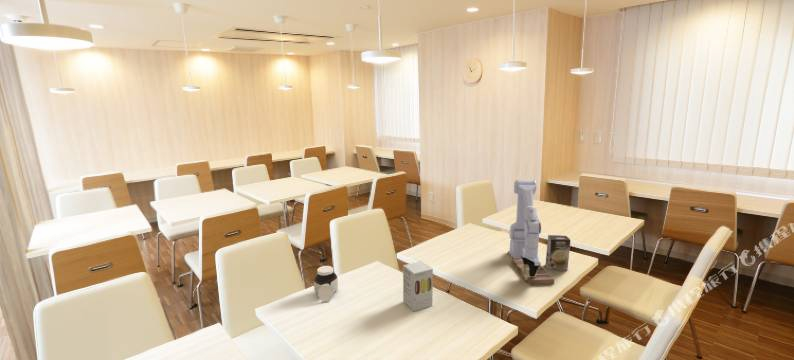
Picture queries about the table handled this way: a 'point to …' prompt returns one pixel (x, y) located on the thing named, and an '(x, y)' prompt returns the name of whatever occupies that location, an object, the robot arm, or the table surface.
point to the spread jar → (325, 283)
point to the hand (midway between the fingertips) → (529, 273)
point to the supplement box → (417, 285)
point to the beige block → (527, 272)
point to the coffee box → (557, 252)
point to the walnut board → (540, 278)
